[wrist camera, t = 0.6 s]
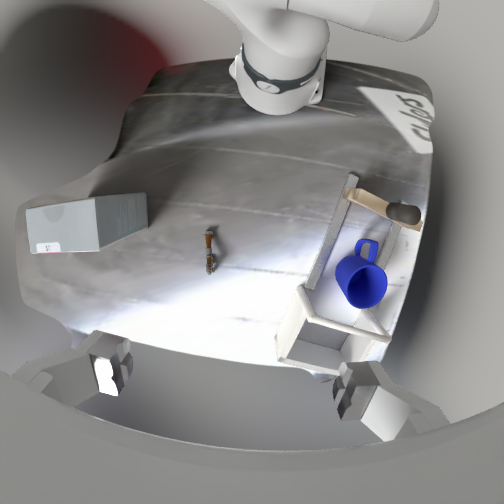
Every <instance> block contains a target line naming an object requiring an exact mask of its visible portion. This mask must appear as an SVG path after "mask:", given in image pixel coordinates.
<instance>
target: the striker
mask: <svg viewBox="0 0 504 504" xmlns="http://www.w3.org/2000/svg"><path fill="white" fill-rule="evenodd" d="M344 199H347V200H349V201H351V202H353V203H355V204H358V205H360V206H362V207H364V208H366V209H368V210H370V211H372V212H374V213H376V214H378V215H380V216H383V217H385V218H387V219H389V220H390V221H392V222H394V223H396V224H398V225H400V226H403V227H406V228H409V229H412V230H416V231H419V232H420V229H421V227H422V224H423V221H421V220H420V219H421V212H420V209H419V208H418V207H417V206H413V205H406V204H400V203H388V202H386V201H384V200H382V199H381V198H379V197H377V196H375V195H373V194H371V193H369V192H367V191H365V190H363V189H353V188H347V189H346V192H345V195H344Z"/></svg>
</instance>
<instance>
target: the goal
mask: <svg viewBox="0 0 504 504" xmlns="http://www.w3.org/2000/svg"><path fill="white" fill-rule="evenodd" d="M306 318H307V320H308V322H310V323H316V324H320V325H323V326H327V327H330V328H334V329H337V330H340V331H344V332H348V333H349V335H348V337H347V339H346V340H345V342H344V344H343V346H342V347H341V349H340V350H336V349H332V348H328V347H324V346H321V345H317V344H313V343H309V342H306V341H302V340H299V339H296V338H297V336H298V334H299V332H300V330H301V328H302V326H303V324H304V322H305V320H306ZM274 338H275V346H276V354H277V361H278V362H282V363H285V364H289V365H293V366H297V367H301V368H306V369H310V370H314V371H319V372H323V373H328V374H333V375H337V376H340V374H339V371H338V370H339V367H340V365H341V363H342V362H364V360H365V358H366V357H367V355H368V354H369V352H370V350H371V349H372V347H373V345H374V343H375V342H376V340H377V341H381V342H384V343H386V344H387V343H390V341H391V340H392V337H391V336H390V335H389V334H388V333H387V331H386V330H385V329H384V328H383V327H382V326H381V324H380V323H379V322H378V321H377V320H376V318H375V317H374V316H373V315H372V314H371V313H370V312H369V310H368V309H367V308H366V309H361V312H360V314H359V316H358V318H357V320H356V322H355V324H354V326H349V325H346V324H342V323H339V322H336V321H332V320H329V319H326V318H322V317H319V316H316V314H315V312H314V309H313V307H312V305H311V303H310V301H309V299H308V297H307V295H306V292H305V290H304V288H303V287H302V286H297V287H296V292H295V294H294V296H293V298H292V301H291V303H290V305H289V307H288V309H287V312H286V314H285V316H284V318H283V320H282V323H281V325H280V327H279V329H278V331H277V333H276V335H275V337H274Z"/></svg>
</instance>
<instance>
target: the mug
mask: <svg viewBox="0 0 504 504" xmlns="http://www.w3.org/2000/svg"><path fill="white" fill-rule="evenodd" d="M364 243H370V244H371V246H370V252H369V257H368V259H367V260H366V259H364V258H362V257H361V256H360V251H361V247H362V245H363V244H364ZM377 251H378V242H377V241H374V240H370V239H360V240H358V241H357V243H356V246H355V255H356V256H349V257H346V258H344V259H342V260H341V261H340V262H339V264H338V265H337V268H336V272H335V276H336V280H337V282H338V284H339V286H340V288H341V289H342V291H343V293H344V295H345V296H346V298H347V300H348V301H349V303H350V304H351V305H352V306H354V307H356V308H359V309H366V308H370V307H372V306H374V305H376V304H377V303H378V302H379V301H380V300H381V299H382V298H383V296H384V295H385V292H386V290H387V276H386V274H385V272H384V271H383V270H382V269H381V268H380V267H379V266H377V265H375V264H374V261H375V259H376V255H377Z"/></svg>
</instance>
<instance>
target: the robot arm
mask: <svg viewBox="0 0 504 504" xmlns="http://www.w3.org/2000/svg"><path fill="white" fill-rule="evenodd" d="M203 1H205V2H207V3H209V4H210V5H212V6H214V7H215V8H217V9H218V10H220V11H221V12H222V13H223V14H225V15H226V16H227V17H228V18H229V19H230V20H232V22H234V23H235V25H236V26H238V28H239V29H240V31H241V33H242V38H243V44H242V46H241V48H240V50H241V52H240V53H239V55H236V57H235V61H234V62H233V63H232V65H231V66H230V68H229V73H230V75H231V76H232V77H233V78H234V79H235V80H236V82H237V84H238V88H239V91H240V94H241V96H242V97H243V99H244V100H245V101H246V102H247V103H248V104H249V105H250V106H251V107H252V108H254V109H256V110H258V111H260V112H262V113H265V114H270V115H285V114H289V113H292V112H294V111H297V110H298V109H300V108H302V107H303V106H305V105H310V104H316V103H319V102H320V101H321V99H322V92H323V83H324V74H325V65H326V53H327V44H328V41H329V34H330V33H329V27H328V24H327V22H326V20H328V21H332V22H334V23H337V24H340V25H343V26H346V27H348V28H351V29H354V30H357V31H361V32H365V33H369V34H373V35H376V36H380V37H384V38H388V39H391V40H395V41H399V42H405V41H408V40H412V39H414V38H417V37H419V36H421V35H422V34H424V33H425V32H426V31H427V30H429V29H430V28H431V26H432V25H433V23H434V22H435V20H436V18H437V15H438V11H439V0H203ZM316 91H317V92H318V93H315V92H316ZM130 349H131V344H130V340H129V339H128V338H124V337H120V336H117V335H113V334H109V333H105V332H102V331H98V330H95V331H93V332H92V333H91V334H90V335H89V336H88V337H87V338H86V339H85V340H84V341H83V342H82V343H81V344H80V345H79V346H78V347H77V348H76V349H73V348H72V349H69V350H66V351H62V352H59V353H55V354H52V355H49V356H45V357H42V358H38V359H35V360H31V361H27V362H26V363H25V364H24V365H22V366H21V367H20V368H19V369H18V370H17V371H16V372H15V373H14V374H13V375H12V376H10V375H9V374H7V373H6V372H4V371H2V370H1V369H0V504H504V402H503V403H501V404H499V405H497V406H495V407H493V408H491V409H489V410H486V411H484V412H482V413H479V414H477V415H474V416H472V417H469V418H467V419H464V420H461V421H459V422H456V423H453V424H450V422H449V421H448V420H447V418H446V417H445V415H444V414H443V412H442V411H441V409H440V408H439V407H438V406H436V405H434V404H432V403H430V402H428V401H426V400H424V399H423V398H421V397H419V396H417V395H415V394H413V393H412V392H410V391H408V390H406V389H404V388H402V387H401V386H399V385H397V384H392V382H391V381H390V379H389V377H388V376H387V374H386V373H385V371H384V369H383V368H382V366H381V365H380V363H379V362H378V361H365V362H342V363H341V365H340V367H339V370H338V371H339V374H340V376H338V377H337V378H336V379H335V381H334V384H333V398H334V401H335V402H336V403H337V404H339V405H338V408H337V411H338V414H339V417H340V419H341V421H346V420H361V421H362V422H363V423H364V424H365V425H366V426H367V427H369V428H370V429H371V430H372V431H373V432H374V433H375V434H377V435H378V436H379V437H380V438H381V439H382V440H384V441H385V442H380V443H374V444H368V445H361V446H354V447H346V448H336V449H323V450H304V451H269V450H267V451H266V450H248V449H236V448H225V447H217V446H209V445H203V444H196V443H190V442H185V441H180V440H175V439H170V438H165V437H161V436H156V435H152V434H149V433H145V432H141V431H137V430H134V429H130V428H127V427H124V426H120V425H117V424H114V423H111V422H108V421H105V420H103V419H100V418H97V417H94V416H92V415H89V414H87V413H84V412H82V411H79V410H77V409H74V408H72V407H73V406H75V405H77V404H79V403H81V402H82V401H84V400H86V399H88V398H89V397H91V396H93V395H95V394H96V393H98V392H99V391H101V392H105V393H108V394H112V395H115V396H119V394H120V393H121V391H122V389H123V388H124V381H125V380H127V379H129V377H130V375H131V373H132V369H133V358H132V356H131V355H130V353H129V350H130Z"/></svg>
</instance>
